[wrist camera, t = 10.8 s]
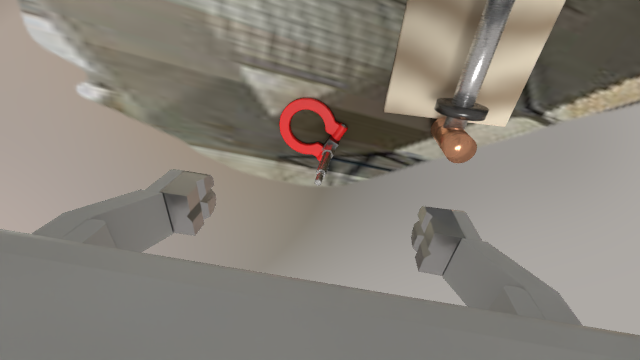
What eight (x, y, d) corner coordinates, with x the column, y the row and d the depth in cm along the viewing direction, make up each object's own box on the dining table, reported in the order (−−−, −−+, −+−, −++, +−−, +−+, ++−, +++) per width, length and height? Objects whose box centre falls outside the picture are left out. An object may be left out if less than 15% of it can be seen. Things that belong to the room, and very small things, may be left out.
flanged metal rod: (471, -37, 26) (504, -54, 20) (530, -32, 26) (581, -47, 20) (418, 136, 36) (430, 159, 30) (461, 142, 36) (481, 166, 30)
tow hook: (272, 132, 41) (321, 164, 43) (236, 168, 30) (305, 210, 31) (298, 85, 37) (352, 122, 38) (268, 107, 26) (345, 158, 27)
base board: (439, -148, 24) (442, -154, 23) (623, -136, 23) (633, -142, 22) (383, 109, 37) (384, 111, 36) (501, 124, 36) (505, 126, 35)
